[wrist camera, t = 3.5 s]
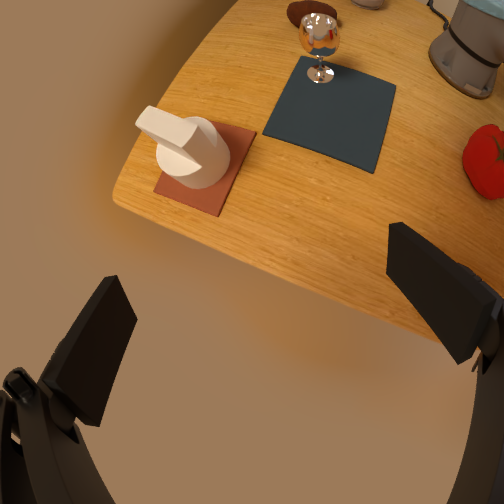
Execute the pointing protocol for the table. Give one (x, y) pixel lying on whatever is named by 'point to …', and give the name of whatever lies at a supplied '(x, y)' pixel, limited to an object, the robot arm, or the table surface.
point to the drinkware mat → (334, 114)
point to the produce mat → (216, 193)
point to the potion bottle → (368, 3)
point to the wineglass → (319, 43)
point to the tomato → (486, 161)
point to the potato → (308, 10)
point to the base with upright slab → (186, 147)
